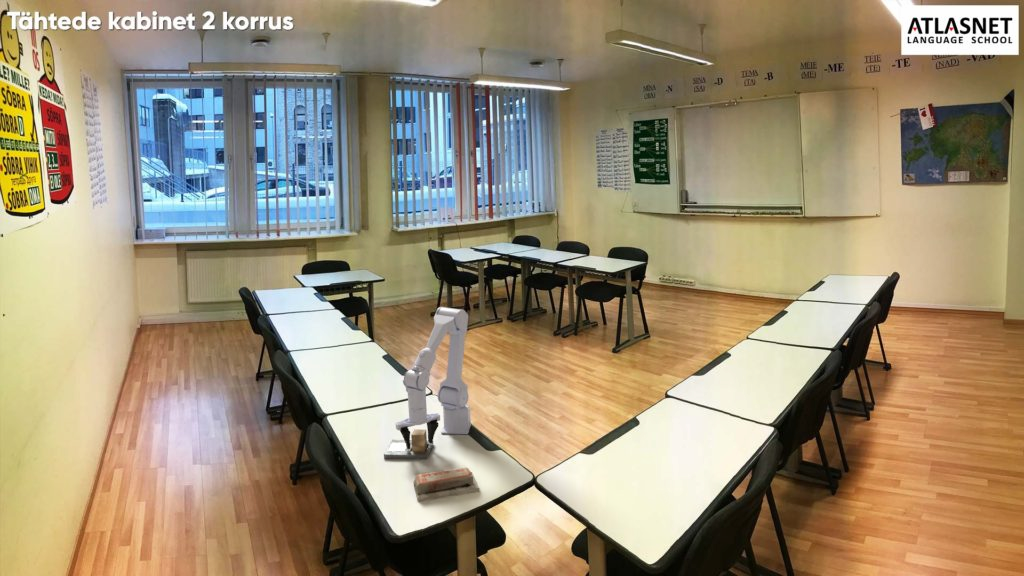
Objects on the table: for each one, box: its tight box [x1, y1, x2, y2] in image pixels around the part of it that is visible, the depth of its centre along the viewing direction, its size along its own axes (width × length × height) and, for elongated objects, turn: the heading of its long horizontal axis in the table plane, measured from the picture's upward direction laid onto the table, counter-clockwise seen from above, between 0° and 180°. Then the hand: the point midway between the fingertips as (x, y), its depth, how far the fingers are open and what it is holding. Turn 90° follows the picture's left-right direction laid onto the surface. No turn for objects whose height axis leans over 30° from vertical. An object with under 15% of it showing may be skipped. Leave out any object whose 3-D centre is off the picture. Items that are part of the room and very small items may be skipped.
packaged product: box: [412, 467, 480, 502], centre depth 173 cm, size 18×5×10 cm
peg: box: [410, 428, 428, 452], centre depth 194 cm, size 4×4×7 cm
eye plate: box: [383, 439, 434, 461], centre depth 195 cm, size 14×10×2 cm
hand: (419, 445), depth 194 cm, fingers open, 7 cm apart
